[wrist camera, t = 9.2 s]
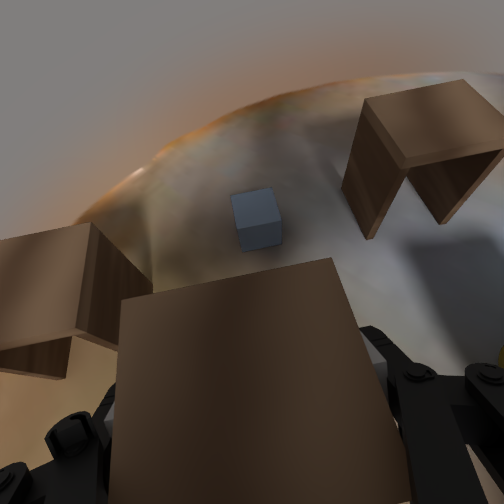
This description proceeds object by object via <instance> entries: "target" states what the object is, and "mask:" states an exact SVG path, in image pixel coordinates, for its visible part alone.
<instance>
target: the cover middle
mask: <svg viewBox="0 0 504 504" xmlns="http://www.w3.org/2000/svg"><path fill="white" fill-rule="evenodd" d="M408 501H412V497H411V489H410V481H409V473H408V466H407V458H406V450H405V447H404V444H403V441H402V439H401V436H400V434H399V431H398V428H397V426H396V423H395V421H394V418H393V415H392V413H391V410H390V408H389V405H388V402H387V400H386V397H385V395H384V392H383V390H382V387H381V384H380V382H379V379H378V377H377V374H376V371H375V369H374V366H373V364H372V361H371V358H370V356H369V353H368V351H367V348H366V346H365V343H364V340H363V338H362V335H361V333H360V330H359V327H358V325H357V322H356V320H355V317H354V314H353V312H352V309H351V307H350V304H349V302H348V299H347V296H346V294H345V291H344V289H343V286H342V283H341V281H340V278H339V276H338V273H337V270H336V268H335V265H334V263H333V260H332V257H330V258H325V259H320V260H315V261H310V262H306V263H301V264H296V265H291V266H286V267H281V268H276V269H271V270H266V271H261V272H257V273H252V274H247V275H242V276H237V277H232V278H227V279H222V280H217V281H212V282H208V283H203V284H198V285H193V286H188V287H183V288H178V289H173V290H168V291H163V292H159V293H154V294H149V295H144V296H139V297H134V298H129V299H124V300H121V315H120V330H119V344H118V359H117V374H116V389H115V404H114V419H113V434H112V449H111V464H110V479H109V493H108V504H399V503H403V502H408Z"/></svg>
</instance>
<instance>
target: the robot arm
mask: <svg viewBox="0 0 504 504" xmlns="http://www.w3.org/2000/svg"><path fill="white" fill-rule="evenodd" d="M359 330H360V333H361V335H362V338H363V340H364V343H365V346H366V348H367V351H368V353H369V356H370V358H371V361H372V364H373V366H374V369H375V371H376V374H377V377H378V379H379V382H380V384H381V387H382V390H383V392H384V395H385V397H386V400H387V402H388V405H389V408H390V410H391V413H392V415H393V417H394V418H395V420H396V421H397V423H398V431H399V434H400V436H401V439H402V441H403V444H404V447H405V450H406V458H407V466H408V473H409V481H410V489H411V497H412V501H410V504H488V501H487V499H486V496H485V494H484V491H483V489H482V486H481V483H480V481H479V478H478V476H477V473H476V471H475V468H474V466H473V463H472V460H471V458H470V455H469V453H468V450H467V448H466V445H465V444H469V445H470V447H471V448H472V450H473V451H474V453H475V454H476V456H477V457H478V458H479V460H480V461H481V463H482V464H483V466H484V467H485V468H486V470H487V471H488V473H489V474H490V476H491V477H492V479H493V480H494V481H495V483H496V484H497V486H498V487H499V489H500V490H501V492H502V493H503V494H504V368H501V367H499V366H496V365H491V364H487V363H475V364H470V365H469V366H467V367H466V368H465V376H446V375H437V373H436V372H435V371H434V370H433V369H431V368H430V367H428V366H426V365H423V364H420V363H414V362H413V361H411V360H410V359H409V358H408V357H407V356H406V355H405V354H404V353H403V352H402V351H401V350H400V349H399V348H398V347H397V346H396V345H395V344H393V342H392V341H391V340H390V339H389V338H388V337H387V336H386V335H385V334H384V333H383V332H382V331H381V330H379V329H377V328H375V327H373V326H366V327H361V328H359ZM115 389H116V382H115V383H114V384H113V385H112V386H111V387H110V388H109V390H108V392H107V393H106V395H105V397H104V399H103V400H102V402H101V403H100V405H99V407H98V408H97V410H96V411H95V413H94V415H93V416H92V418H91V415H90V413H88V412H86V411H82V412H77V413H74V414H71V415H69V416H67V417H65V418H64V419H62V420H61V421H59V422H58V423H57V424H55V425H54V426H53V427H52V428H51V429H50V431H49V432H48V433H47V435H46V437H45V441H46V444H47V446H48V448H49V450H50V452H51V454H52V456H53V458H54V460H52V461H50V462H48V463H46V464H44V465H42V466H39V467H37V468H35V469H33V470H31V471H29V469H28V467H27V465H26V463H23V462H17V463H12V464H10V465H8V466H6V467H4V468H2V469H0V504H108V493H109V479H110V464H111V449H112V434H113V419H114V404H115Z"/></svg>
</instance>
